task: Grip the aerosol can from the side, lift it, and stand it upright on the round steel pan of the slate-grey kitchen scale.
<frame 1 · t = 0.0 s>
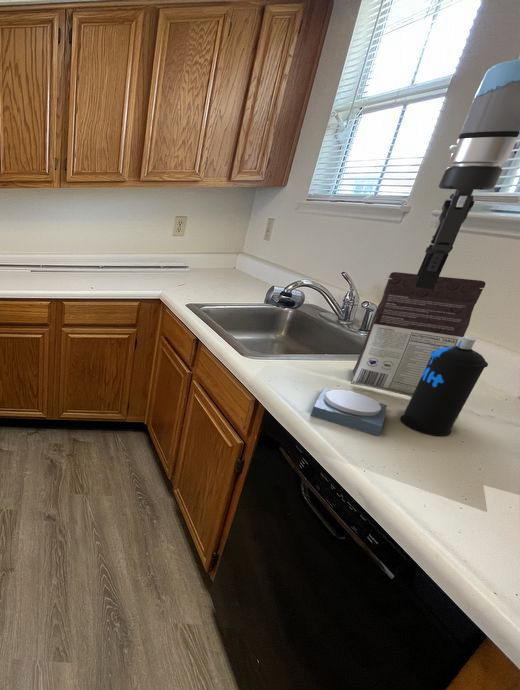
hand: (424, 282, 85), 29 cm above the countertop, tool pointing down, fingers open, 13 cm apart
aerosol can: (424, 426, 89), on the countertop
protein powder: (388, 387, 105), on the countertop
kitchen scale: (346, 414, 93), on the countertop
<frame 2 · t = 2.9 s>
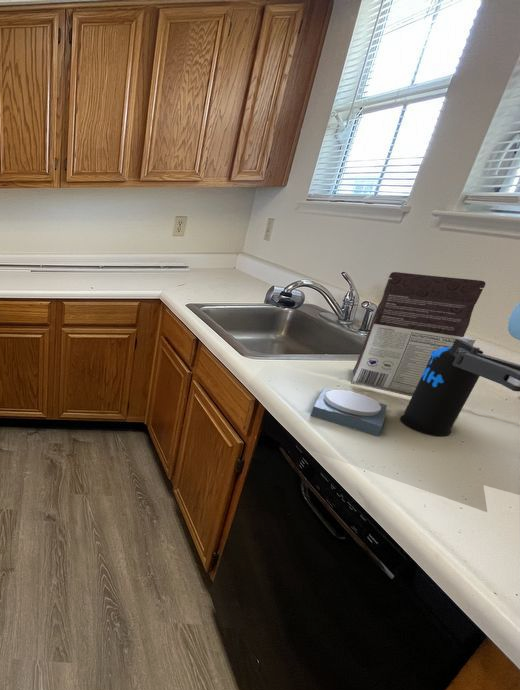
hand: (503, 352, 73), 21 cm above the countertop, tool horizontal, fingers open, 13 cm apart
nothing on the countertop moved.
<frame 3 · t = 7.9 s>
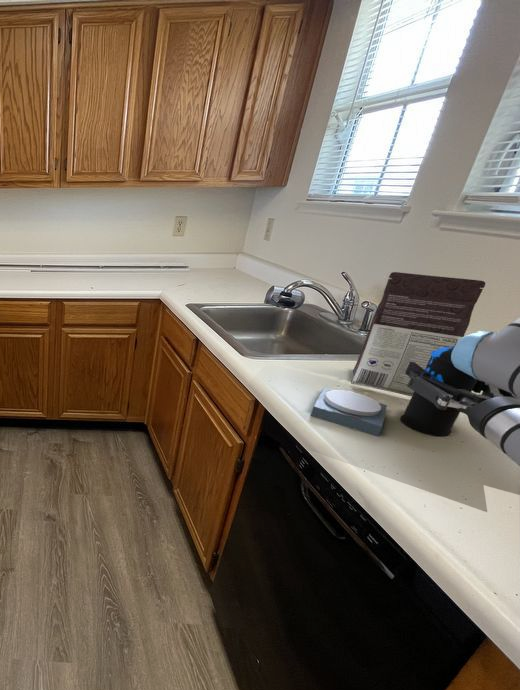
hand: (434, 370, 88), 11 cm above the countertop, tool horizontal, fingers closed on aerosol can, 8 cm apart
aerosol can: (424, 426, 89), on the countertop, touching gripper
everything else where it was.
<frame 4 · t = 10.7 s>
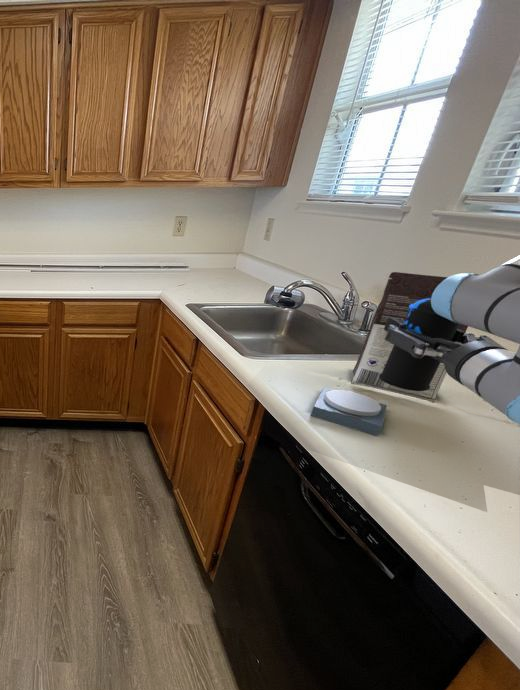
hand: (413, 325, 86), 20 cm above the countertop, tool horizontal, fingers closed on aerosol can, 8 cm apart
aerosol can: (402, 383, 87), point 9 cm above the countertop, touching gripper
everything else where it was.
when the fingers open (14 cm above the countertop, at t = 13.7 s): aerosol can stays where it is, resting on kitchen scale.
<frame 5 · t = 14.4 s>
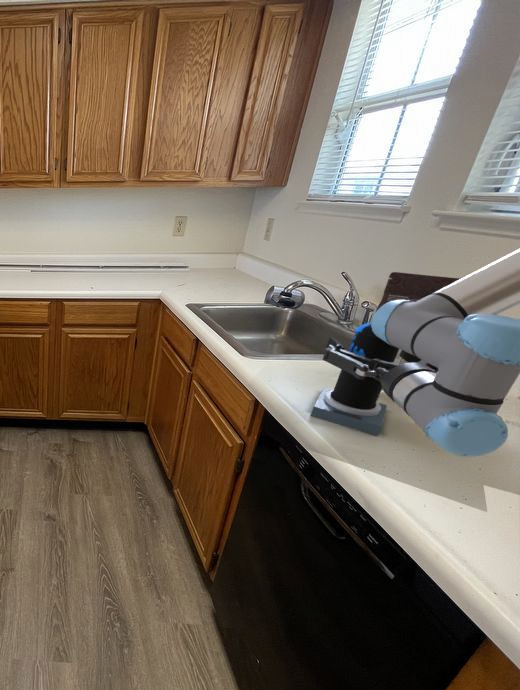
hand: (365, 346, 90), 15 cm above the countertop, tool horizontal, fingers open, 13 cm apart
aerosol can: (352, 401, 92), point 3 cm above the countertop, touching kitchen scale
everything else where it was.
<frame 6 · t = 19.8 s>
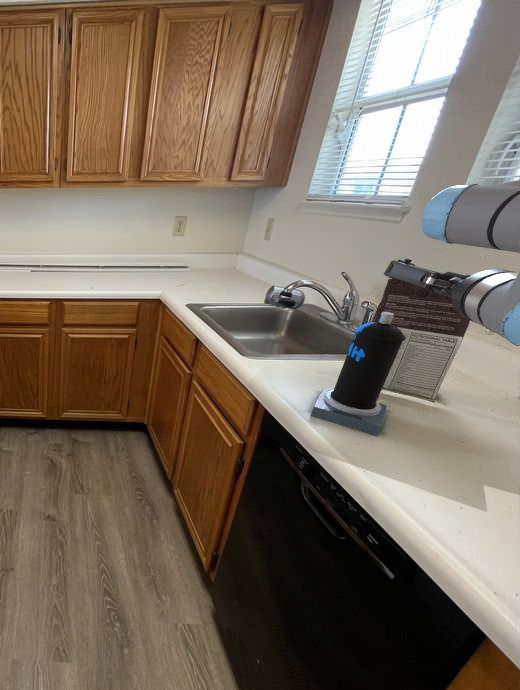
hand: (440, 277, 75), 32 cm above the countertop, tool horizontal, fingers open, 13 cm apart
nothing on the countertop moved.
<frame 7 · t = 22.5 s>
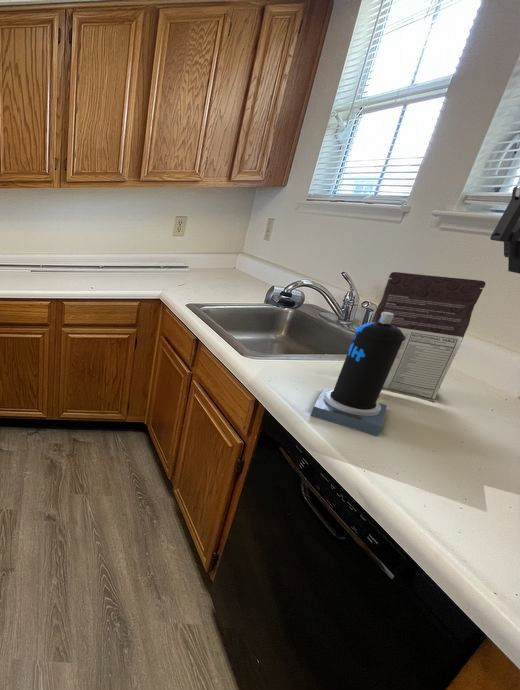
nothing on the countertop moved.
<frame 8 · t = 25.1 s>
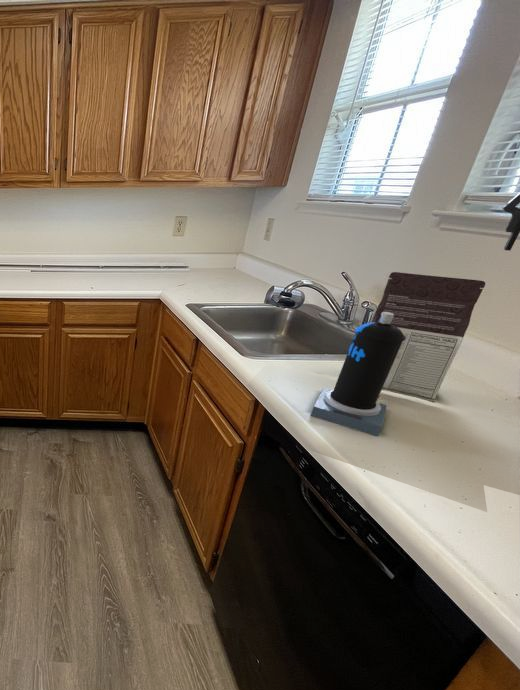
nothing on the countertop moved.
at the end: aerosol can inside the target area on the kitchen scale (0.0 cm from its centre), point 3.2 cm above the kitchen scale's base; aerosol can tilted 0°; the gripper is holding nothing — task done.
